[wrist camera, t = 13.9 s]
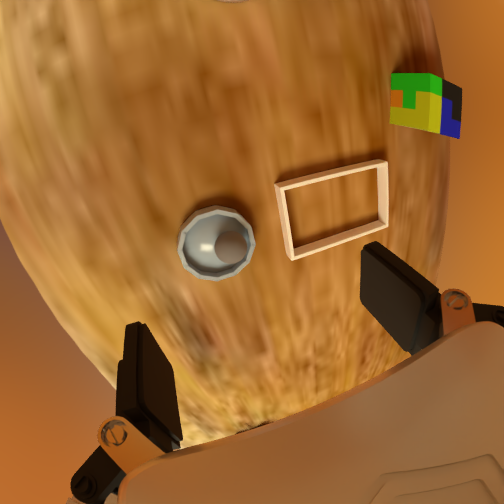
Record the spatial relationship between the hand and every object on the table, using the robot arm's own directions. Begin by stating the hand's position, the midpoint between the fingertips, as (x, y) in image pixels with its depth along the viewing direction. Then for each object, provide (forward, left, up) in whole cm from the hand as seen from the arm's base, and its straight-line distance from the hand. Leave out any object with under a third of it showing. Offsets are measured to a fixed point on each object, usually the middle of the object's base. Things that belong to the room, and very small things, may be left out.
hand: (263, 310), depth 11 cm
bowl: (+13, 0, -33) cm, 36 cm away
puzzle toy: (-4, +42, -34) cm, 54 cm away
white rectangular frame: (+13, +22, -33) cm, 42 cm away
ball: (+13, 0, -32) cm, 34 cm away
